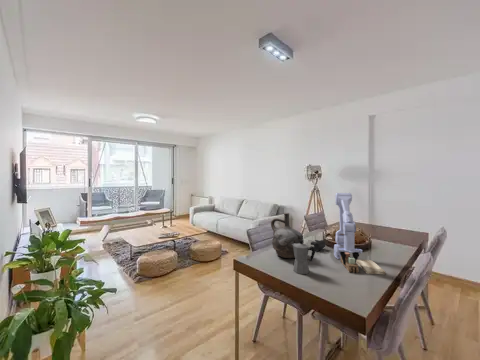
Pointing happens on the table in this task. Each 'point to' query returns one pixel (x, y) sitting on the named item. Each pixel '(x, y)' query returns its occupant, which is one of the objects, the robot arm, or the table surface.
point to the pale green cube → (351, 260)
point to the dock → (370, 267)
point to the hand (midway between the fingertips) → (349, 264)
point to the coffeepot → (302, 257)
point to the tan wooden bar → (350, 266)
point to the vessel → (285, 238)
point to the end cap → (318, 245)
